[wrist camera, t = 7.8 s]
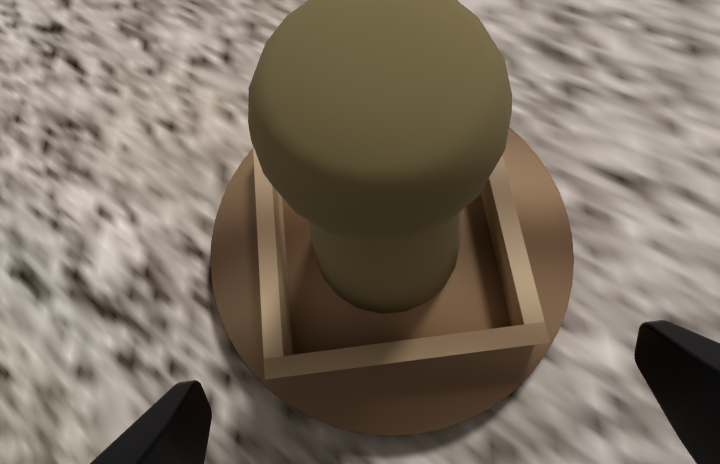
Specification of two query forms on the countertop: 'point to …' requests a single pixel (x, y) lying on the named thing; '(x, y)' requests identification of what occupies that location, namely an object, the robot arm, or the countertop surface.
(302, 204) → the pepper shaker
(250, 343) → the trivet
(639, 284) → the countertop surface
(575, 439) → the countertop surface
